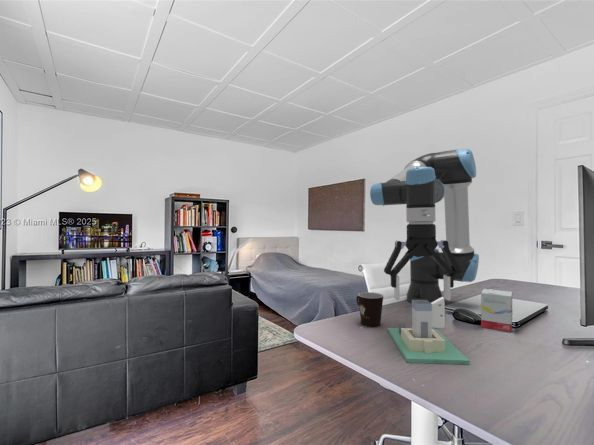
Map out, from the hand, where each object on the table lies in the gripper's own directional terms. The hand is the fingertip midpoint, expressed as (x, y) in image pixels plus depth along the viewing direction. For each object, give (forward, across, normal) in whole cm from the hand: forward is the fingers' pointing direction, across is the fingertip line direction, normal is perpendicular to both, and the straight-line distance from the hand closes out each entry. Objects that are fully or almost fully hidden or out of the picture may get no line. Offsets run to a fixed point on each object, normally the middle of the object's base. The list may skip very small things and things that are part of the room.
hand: (421, 299), depth 84 cm
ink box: (+15, +31, +19) cm, 39 cm away
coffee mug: (+14, -11, +20) cm, 27 cm away
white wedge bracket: (+14, +10, +18) cm, 25 cm away
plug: (+13, 0, -1) cm, 13 cm away
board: (+14, +1, +1) cm, 14 cm away
